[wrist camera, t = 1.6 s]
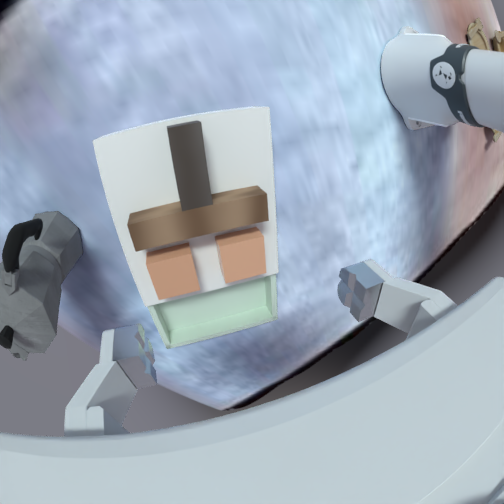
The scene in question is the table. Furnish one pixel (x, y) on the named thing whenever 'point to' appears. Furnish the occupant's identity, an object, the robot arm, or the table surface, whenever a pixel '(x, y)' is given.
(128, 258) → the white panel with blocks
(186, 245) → the tile
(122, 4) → the table surface
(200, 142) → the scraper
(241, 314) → the box
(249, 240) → the tile
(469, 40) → the tableware set
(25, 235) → the coffeepot
